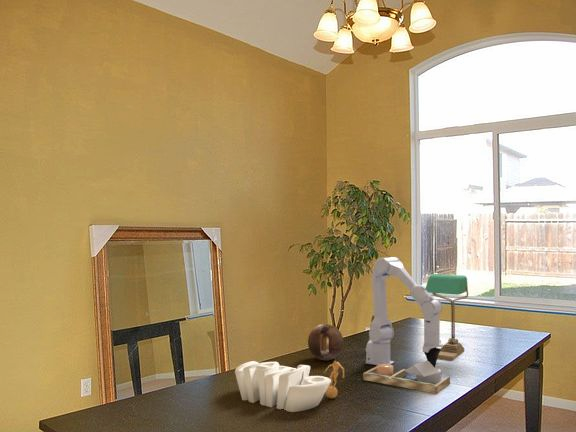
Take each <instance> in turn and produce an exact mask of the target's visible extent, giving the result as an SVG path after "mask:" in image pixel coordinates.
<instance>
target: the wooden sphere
mask: <svg viewBox="0 0 576 432" xmlns="http://www.w3.org/2000/svg"><path fill="white" fill-rule="evenodd" d="M307 346H308V349H309V351H310V353H311V354H312V356H314V357H315V358H317V359H318V360H319V361H331V360H334V359H335V358H337V357H338V356H339V355H340V354H341V352H342V351H343V348H344V338H343V335H342V333H341V331H340V330H339V328H337V327H336V326H334V325H331V324H330V323H329V324H328V323H323V324H319V325H317V326H315V327H314V328H313V329H312V330H311V331H310V333H309V334H308V338H307Z"/></svg>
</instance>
